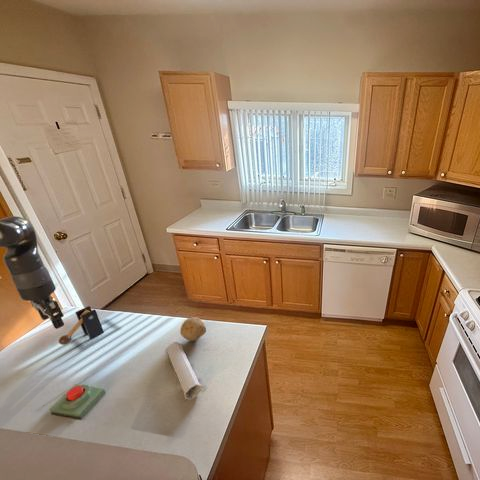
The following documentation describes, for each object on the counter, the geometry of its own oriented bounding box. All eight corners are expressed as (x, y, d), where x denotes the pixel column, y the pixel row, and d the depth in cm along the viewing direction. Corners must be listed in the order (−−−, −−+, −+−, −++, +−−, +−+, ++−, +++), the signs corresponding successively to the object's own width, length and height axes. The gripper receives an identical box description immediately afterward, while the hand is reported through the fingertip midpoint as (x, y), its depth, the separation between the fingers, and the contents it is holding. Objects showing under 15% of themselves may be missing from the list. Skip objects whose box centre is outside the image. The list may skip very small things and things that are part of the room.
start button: (64, 400, 76) (62, 396, 75) (76, 388, 79) (74, 385, 78) (75, 401, 75) (73, 398, 75) (87, 390, 79) (85, 386, 78)
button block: (51, 413, 75) (46, 404, 74) (78, 388, 83) (74, 380, 81) (81, 419, 74) (77, 410, 73) (106, 393, 82) (102, 384, 80)
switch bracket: (83, 351, 96) (72, 325, 91) (70, 341, 100) (59, 315, 95) (118, 331, 106) (110, 306, 101) (105, 323, 110) (96, 298, 105)
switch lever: (68, 347, 94) (58, 345, 91) (63, 343, 95) (54, 341, 93) (96, 314, 100) (87, 311, 97) (91, 311, 101) (83, 308, 98)
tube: (161, 346, 95) (181, 395, 78) (175, 336, 98) (197, 381, 81) (169, 353, 98) (189, 402, 81) (182, 344, 101) (205, 389, 84)
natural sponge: (178, 338, 104) (174, 318, 100) (200, 327, 110) (196, 308, 106) (187, 350, 99) (183, 330, 95) (209, 338, 105) (206, 319, 101)
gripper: (5, 280, 77) (28, 322, 84) (26, 294, 72) (48, 337, 78) (39, 269, 83) (57, 309, 90) (60, 281, 78) (78, 322, 85)
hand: (53, 322), depth 84 cm, fingers open, 8 cm apart
